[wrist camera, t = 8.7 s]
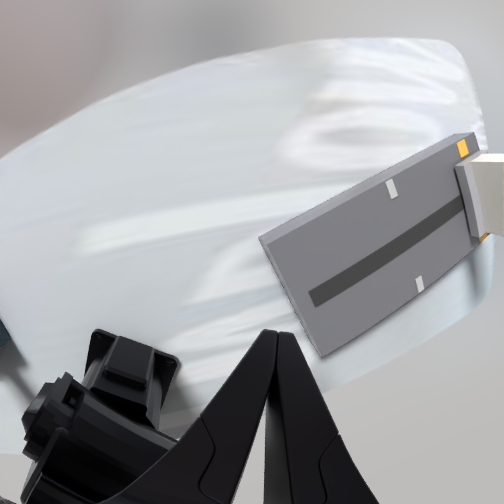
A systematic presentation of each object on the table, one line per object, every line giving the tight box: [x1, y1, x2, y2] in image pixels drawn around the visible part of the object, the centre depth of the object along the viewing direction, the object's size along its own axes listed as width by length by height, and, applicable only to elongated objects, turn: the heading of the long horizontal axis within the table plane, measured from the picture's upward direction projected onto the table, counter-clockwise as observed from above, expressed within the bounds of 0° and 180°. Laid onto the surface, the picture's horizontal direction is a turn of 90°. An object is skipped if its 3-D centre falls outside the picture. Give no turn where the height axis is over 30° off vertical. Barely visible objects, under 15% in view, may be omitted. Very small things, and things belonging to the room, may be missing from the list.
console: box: [258, 132, 490, 357], centre depth 20 cm, size 20×9×3 cm, turn 117°
